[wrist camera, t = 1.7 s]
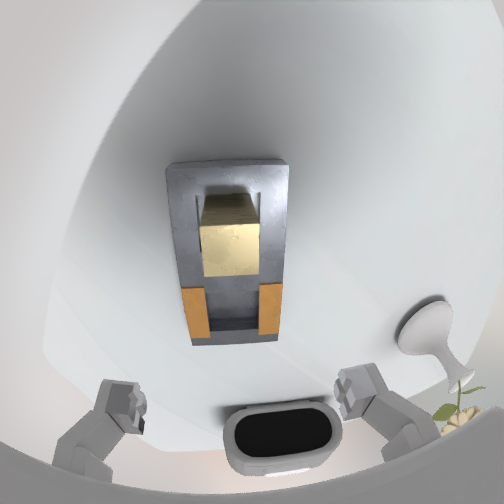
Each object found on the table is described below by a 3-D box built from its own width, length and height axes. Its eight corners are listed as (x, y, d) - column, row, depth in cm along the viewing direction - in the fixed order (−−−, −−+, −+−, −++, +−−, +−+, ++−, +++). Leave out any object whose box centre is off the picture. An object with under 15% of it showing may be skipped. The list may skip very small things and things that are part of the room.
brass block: (205, 195, 24) (199, 226, 18) (249, 193, 24) (259, 223, 18) (208, 235, 26) (204, 276, 20) (250, 233, 26) (258, 274, 20)
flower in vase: (444, 282, 35) (536, 399, 13) (447, 321, 40) (514, 421, 18) (378, 328, 37) (451, 469, 15) (391, 360, 42) (445, 473, 20)
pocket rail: (172, 163, 23) (164, 170, 20) (281, 159, 24) (289, 165, 21) (193, 328, 33) (192, 346, 30) (273, 323, 34) (277, 342, 31)
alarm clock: (332, 392, 45) (352, 452, 33) (321, 414, 49) (336, 467, 38) (221, 404, 43) (224, 471, 31) (224, 425, 47) (228, 482, 36)
